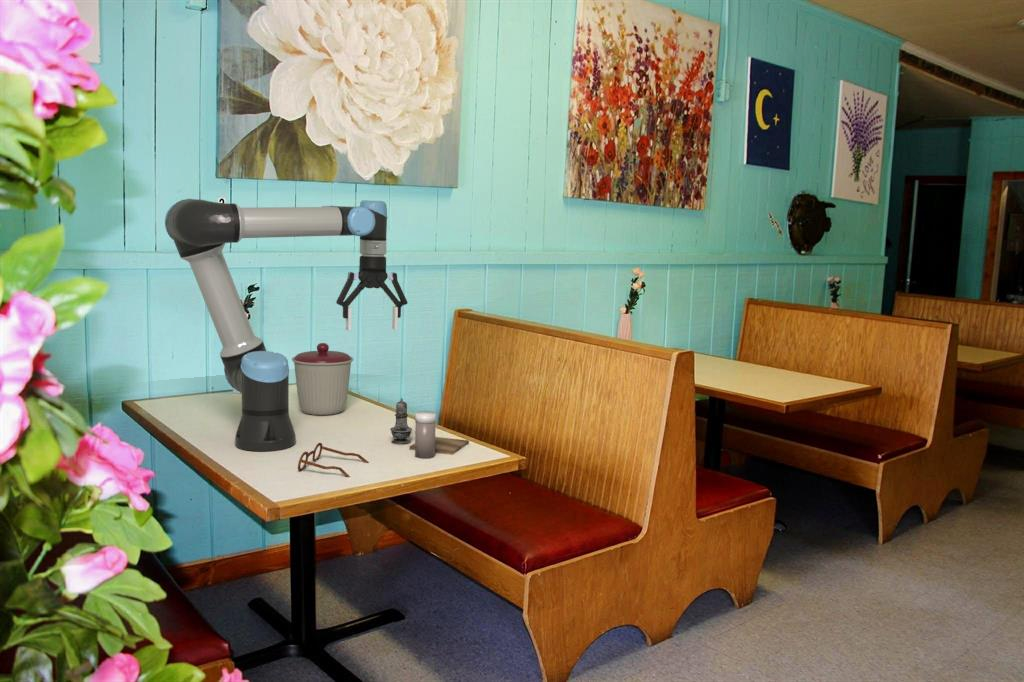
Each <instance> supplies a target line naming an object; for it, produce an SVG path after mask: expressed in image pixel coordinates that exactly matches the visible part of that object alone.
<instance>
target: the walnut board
mask: <svg viewBox="0 0 1024 682" xmlns="http://www.w3.org/2000/svg"><path fill="white" fill-rule="evenodd" d="M469 443H470V440H467V439H457V438H451V437H439V436H435V454H437V453H438V454H444V455H454V454H456V453H457V452H459V451H460V450H461V449H463V448H465V446H467V445H469ZM408 446H409V445H408ZM408 448H409V449H408V450H412V451H415V442H414V443H413V444H411V445H410V446H409V447H408Z"/></svg>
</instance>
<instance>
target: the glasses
mask: <svg viewBox="0 0 1024 682" xmlns="http://www.w3.org/2000/svg"><path fill="white" fill-rule="evenodd" d="M318 448H319V450H318V451H319V452H318V455H317V456H316V452H317V449H318ZM323 450H324V451H327V452H332V453H335V454H338V455H342V456H345V457H346V456H352V457H357V458H358V459H360V460H361V461H362V462H363V463H367V464H369V463H370V462H369V461H368V460H367V459H366V458H365V457H363V456H362V455H360V454H359V453H355V452H354V453H353V452H344V451H341V450H337V449H333V448H329V447H328V446H327V447H326V446H323V442H322V443H321V442H318V443H317V444H315V447H314V449H313V450H311V451H309V452H308V451H304V452H302V454H301V455H300V457H299V460H298V462H297V463H298V464H297V471H298V472H302V471H303V470H305V468H306V466H307V465H309V466H312V467H316V468H319V469H323V470H339V472H341V473H342V474H343V475H344V477H346V478H351V476H350V475H349V474H348V473H347V472H346V470H344V469H343V468H342V467H341V466H335V465H332V466H328V465H327V466H325V465H322V464H319V463H316V462H317V461H319V460H320V457H321V455H322V451H323ZM310 456H312V462H311V461H308V460H309V457H310ZM304 457H305V459H303V458H304ZM316 460H317V461H316ZM301 464H303V465H302V467H301Z"/></svg>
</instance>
